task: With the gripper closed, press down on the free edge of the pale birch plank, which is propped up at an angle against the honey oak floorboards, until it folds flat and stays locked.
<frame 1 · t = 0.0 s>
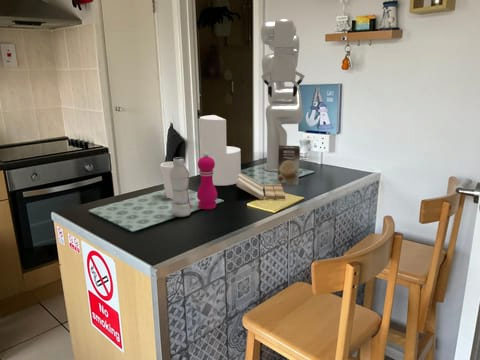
hand: (282, 96, 165), 37 cm above the table, tool pointing down, fingers open, 9 cm apart
coffee box: (287, 183, 174), on the table
plastic bottle: (181, 216, 137), on the table
pepper mill: (207, 207, 145), on the table
oak floorboards: (273, 193, 159), on the table
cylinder: (221, 180, 179), on the table
foam cup: (174, 197, 157), on the table
birch plank: (250, 185, 158), point 4 cm above the table, hinge at 30.0°
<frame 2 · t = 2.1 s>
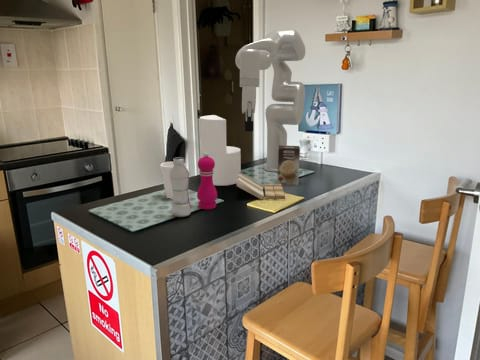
hand: (249, 131, 158), 24 cm above the table, tool pointing down, fingers closed
nothing on the table moved.
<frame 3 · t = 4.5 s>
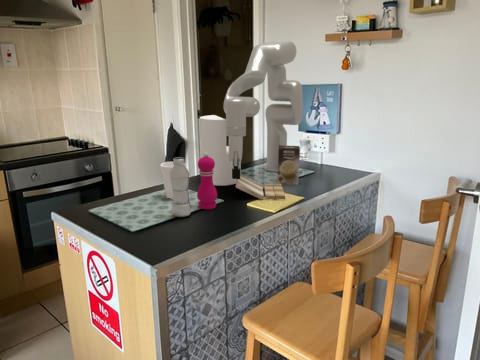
hand: (236, 178, 157), 7 cm above the table, tool pointing down, fingers closed
birch plank: (249, 185, 158), point 3 cm above the table, hinge at 26.7°, touching gripper
everything else where it was.
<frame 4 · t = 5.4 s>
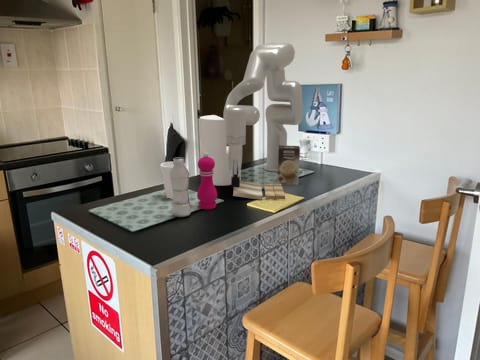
hand: (235, 186, 158), 3 cm above the table, tool pointing down, fingers closed
birch plank: (247, 189, 159), point 2 cm above the table, hinge at 8.6°, touching gripper
everything else where it was.
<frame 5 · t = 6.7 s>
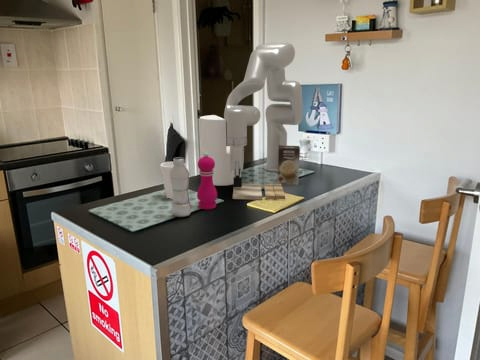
hand: (237, 186, 159), 3 cm above the table, tool pointing down, fingers closed
birch plank: (247, 191, 159), point 1 cm above the table, hinge at 2.6°
everything else where it was.
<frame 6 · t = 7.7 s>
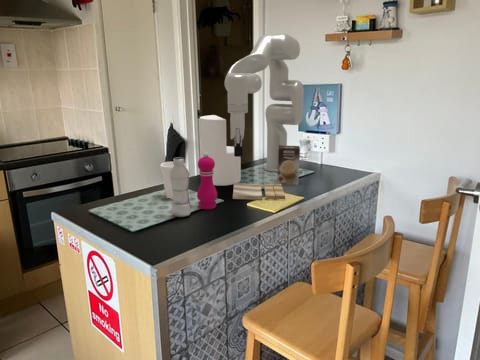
hand: (238, 156, 156), 15 cm above the table, tool pointing down, fingers closed
nothing on the table moved.
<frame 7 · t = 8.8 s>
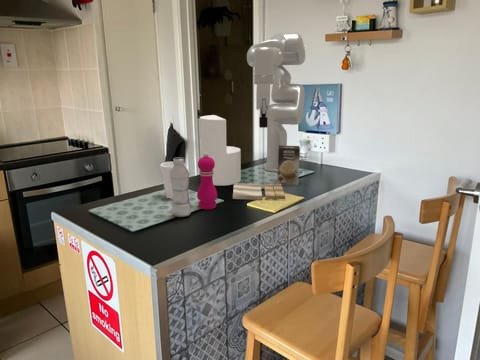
hand: (263, 127, 162), 25 cm above the table, tool pointing down, fingers closed
nothing on the table moved.
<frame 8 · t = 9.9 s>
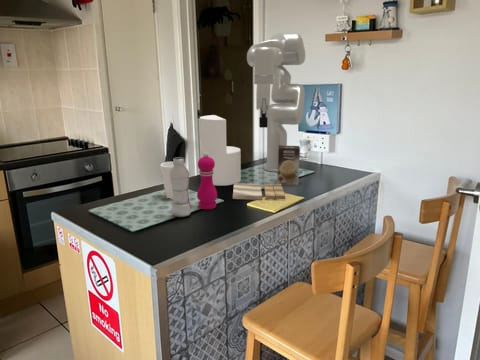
hand: (263, 127, 162), 25 cm above the table, tool pointing down, fingers closed
nothing on the table moved.
at the end: birch plank at +3° (first picture: +30°) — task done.
